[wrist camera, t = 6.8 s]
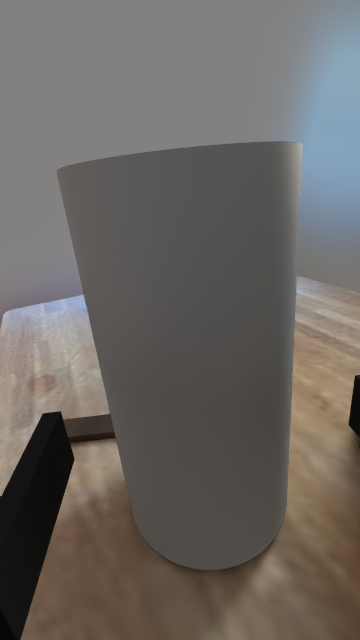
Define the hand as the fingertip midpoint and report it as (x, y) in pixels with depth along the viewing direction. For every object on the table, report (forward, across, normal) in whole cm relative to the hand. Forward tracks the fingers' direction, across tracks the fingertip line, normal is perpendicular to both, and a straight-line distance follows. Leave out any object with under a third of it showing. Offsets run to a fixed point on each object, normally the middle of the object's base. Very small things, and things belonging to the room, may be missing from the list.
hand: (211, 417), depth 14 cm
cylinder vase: (+8, 0, -14) cm, 16 cm away
